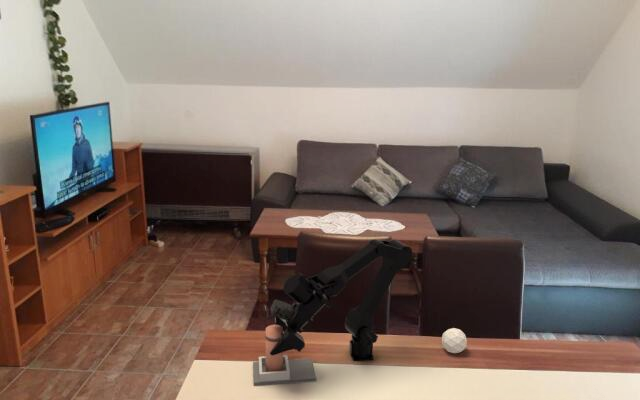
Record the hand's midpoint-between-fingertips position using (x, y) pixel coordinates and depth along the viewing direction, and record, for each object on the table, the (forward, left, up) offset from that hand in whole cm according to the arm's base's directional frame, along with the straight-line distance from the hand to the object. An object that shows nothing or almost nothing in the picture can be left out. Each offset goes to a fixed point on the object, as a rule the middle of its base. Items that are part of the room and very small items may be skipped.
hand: (269, 346), depth 146 cm
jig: (-4, -1, -10) cm, 11 cm away
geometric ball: (-59, -6, -10) cm, 61 cm away
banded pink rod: (-1, 0, -8) cm, 9 cm away
